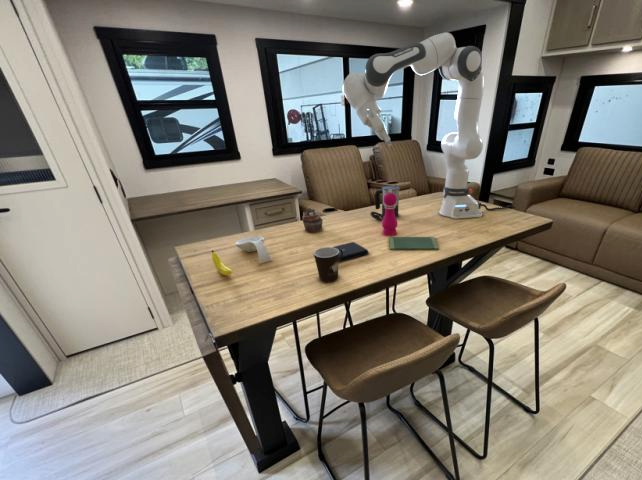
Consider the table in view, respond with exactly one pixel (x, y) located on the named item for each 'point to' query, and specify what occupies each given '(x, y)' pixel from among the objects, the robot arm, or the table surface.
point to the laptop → (351, 251)
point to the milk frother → (377, 201)
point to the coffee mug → (327, 263)
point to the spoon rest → (255, 247)
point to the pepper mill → (389, 214)
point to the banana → (220, 265)
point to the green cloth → (413, 243)
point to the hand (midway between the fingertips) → (389, 143)
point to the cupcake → (312, 221)
